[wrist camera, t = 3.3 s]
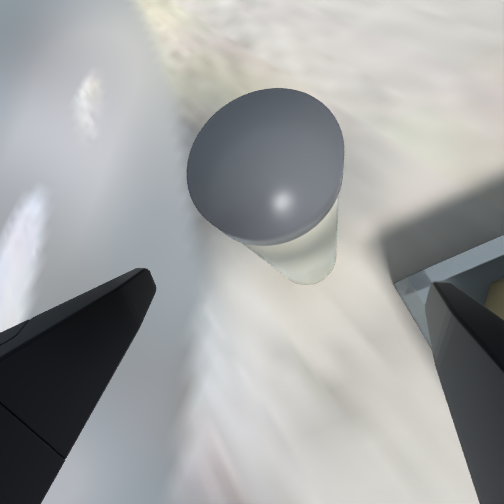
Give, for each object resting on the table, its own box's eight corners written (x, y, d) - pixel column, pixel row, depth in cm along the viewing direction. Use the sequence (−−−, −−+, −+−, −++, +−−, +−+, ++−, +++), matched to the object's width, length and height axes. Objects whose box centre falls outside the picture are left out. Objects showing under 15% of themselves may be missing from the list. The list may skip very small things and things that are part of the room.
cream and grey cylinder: (290, 296, 18) (216, 264, 7) (266, 243, 20) (168, 138, 8) (349, 269, 18) (378, 184, 6) (320, 216, 19) (298, 61, 7)
